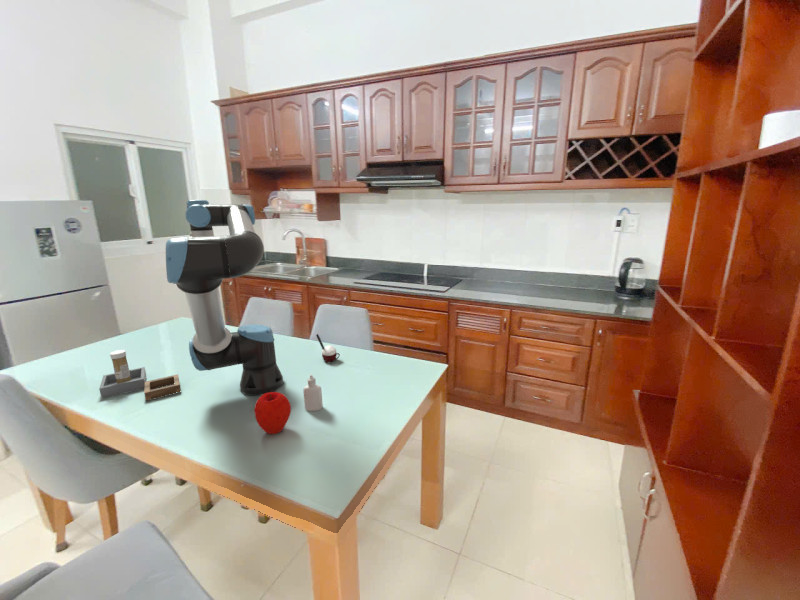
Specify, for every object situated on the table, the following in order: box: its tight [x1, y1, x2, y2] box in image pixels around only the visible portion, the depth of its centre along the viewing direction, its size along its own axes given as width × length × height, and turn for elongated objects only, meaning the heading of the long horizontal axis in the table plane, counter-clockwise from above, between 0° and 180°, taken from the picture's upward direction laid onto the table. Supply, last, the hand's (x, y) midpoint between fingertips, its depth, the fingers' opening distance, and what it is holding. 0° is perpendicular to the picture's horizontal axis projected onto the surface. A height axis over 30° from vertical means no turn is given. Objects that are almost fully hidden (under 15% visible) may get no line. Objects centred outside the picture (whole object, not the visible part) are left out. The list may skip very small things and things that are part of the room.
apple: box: [253, 391, 292, 435], centre depth 104 cm, size 10×10×12 cm
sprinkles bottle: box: [109, 349, 131, 384], centre depth 133 cm, size 5×5×14 cm
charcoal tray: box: [99, 366, 147, 399], centre depth 135 cm, size 13×13×4 cm
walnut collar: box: [143, 374, 182, 401], centre depth 131 cm, size 11×11×3 cm
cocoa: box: [316, 333, 340, 363], centre depth 154 cm, size 10×6×12 cm, turn 64°
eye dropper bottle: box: [303, 374, 324, 412], centre depth 116 cm, size 4×6×12 cm
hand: (211, 295), depth 141 cm, fingers open, 13 cm apart
